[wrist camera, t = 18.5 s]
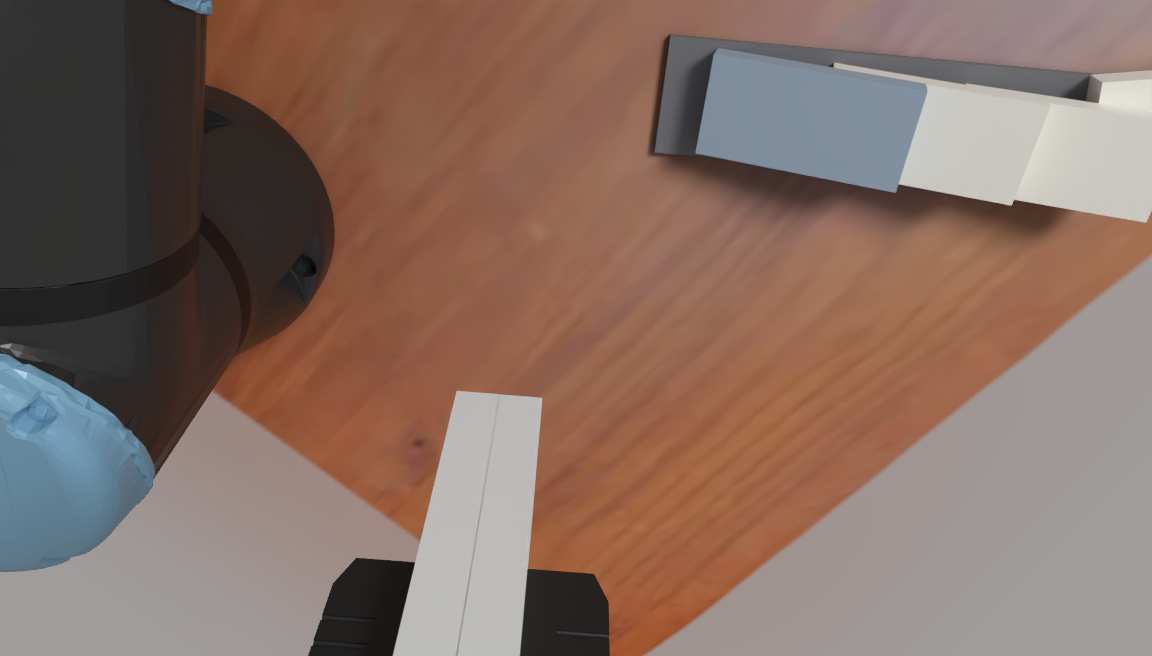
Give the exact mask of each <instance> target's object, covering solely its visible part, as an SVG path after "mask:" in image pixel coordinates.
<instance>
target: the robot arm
mask: <svg viewBox="0 0 1152 656" xmlns="http://www.w3.org/2000/svg"><path fill="white" fill-rule="evenodd" d="M212 12H213V4H212V2H211V0H0V572H10V571H11V572H14V571H28V570H36V569H42V568H46V567H51V566H54V565H58V564H61V563H63V562H66V561H68V560H69V559H70V558H71V557H74V556H78V555H81V554H85V553H87V552H89V551H91V550H92V549H94V548H95V547H97V546H98V545H99V544H100V543H101V542H103V541H104V540H105V539H106V538H107V537H108V536H109V535H110V534H111V533H112V531H113V530H114V529H115V528H116V527H117V526H118V524H119V523H120V522H121V521H122V520H123V519H124V518H125V517H126V516H127V514H128V513H129V512H130V511H131V510H132V509H133V508H134V507H135V505H137V504H138V503H140V501H141V500H142V499H144V498H145V496H146V495H147V494H148V493H149V491H150V489H151V488H152V486H153V479H154V478H155V476H156V474H157V473H158V471H159V470H160V468H161V467H162V465H163V464H164V462H165V461H166V459H167V458H168V456H169V455H170V453H171V452H172V450H173V449H174V447H175V446H176V444H177V443H178V441H179V440H180V438H181V437H182V435H183V434H184V432H185V430H186V429H187V427H188V426H189V424H190V423H191V421H192V420H193V418H194V417H195V415H196V414H197V412H198V411H199V409H200V408H201V406H202V405H203V403H204V402H205V400H206V399H207V397H208V396H209V394H210V393H211V391H212V390H213V388H214V387H215V385H216V383H217V382H218V380H219V379H220V377H221V376H222V374H223V373H224V371H225V370H226V368H227V367H228V365H229V364H230V362H231V361H232V359H233V358H234V356H236V355H238V354H240V353H242V352H244V351H246V350H248V349H250V348H252V347H254V346H255V345H257V344H259V343H261V342H263V341H265V340H267V339H269V338H271V337H273V336H274V335H276V334H278V333H279V332H281V331H282V330H284V329H285V328H286V327H288V326H289V325H290V324H291V323H292V322H294V321H295V320H296V319H297V318H298V317H299V316H300V315H301V314H302V312H303V311H304V310H305V309H306V308H307V306H308V305H309V303H310V302H311V300H312V299H313V297H314V295H315V294H316V292H317V290H318V289H319V287H320V285H321V284H322V282H323V280H324V278H325V276H326V274H327V271H328V268H329V266H330V262H331V258H332V254H333V248H334V221H333V214H332V209H331V205H330V201H329V198H328V195H327V192H326V189H325V187H324V184H323V182H322V180H321V178H320V176H319V174H318V172H317V170H316V168H315V167H314V165H313V163H312V162H311V160H310V159H309V157H308V156H307V154H306V153H305V152H304V150H303V149H302V148H301V147H300V145H299V144H298V143H297V142H296V141H295V140H294V139H293V137H292V136H291V135H290V134H289V133H288V132H287V131H286V130H285V129H284V128H283V127H281V126H280V125H279V124H278V123H277V122H276V121H274V120H273V119H272V118H271V117H269V116H268V115H267V114H265V113H264V112H262V111H261V110H259V109H258V108H257V107H255V106H253V105H252V104H250V103H248V102H246V101H245V100H243V99H241V98H239V97H237V96H235V95H232V94H230V93H228V92H225V91H223V90H220V89H217V88H214V87H211V86H207V85H205V67H206V33H207V16H209V15H212ZM541 407H542V398H537V397H525V396H513V395H501V394H489V393H476V392H464V391H457V392H456V396H455V400H454V405H453V409H452V413H451V417H450V421H449V425H448V429H447V433H446V438H445V442H444V446H443V450H442V454H441V458H440V462H439V467H438V471H437V475H436V479H435V483H434V487H433V491H432V495H431V500H430V504H429V508H428V512H427V516H426V520H425V524H424V529H423V533H422V537H421V541H420V545H419V549H418V554H417V558H416V562H403V561H390V560H377V559H364V558H356V559H355V560H354V561H353V562H352V563H351V564H350V566H349V567H348V568H347V569H346V570H345V571H344V572H343V573H342V574H341V575H340V576H339V578H338V579H337V580H336V581H335V582H334V583H333V585H332V588H331V591H330V594H329V597H328V600H327V603H326V606H325V608H324V612H323V615H322V620H320V623H319V626H318V629H317V632H316V635H315V637H314V643H313V646H311V649H310V652H309V655H308V656H610V652H609V605H608V600H607V598H606V596H605V595H604V593H603V591H602V589H601V587H600V585H599V583H598V581H597V579H596V577H595V575H594V574H587V573H574V572H561V571H548V570H535V569H528V561H529V549H530V538H531V526H532V515H533V503H534V491H535V479H536V467H537V455H538V443H539V431H540V419H541Z"/></svg>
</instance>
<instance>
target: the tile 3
mask: <svg viewBox="0 0 1152 656" xmlns="http://www.w3.org/2000/svg"><path fill="white" fill-rule="evenodd" d="M966 85H970V86H976V87H982V88H988V89H994V90H1000V91H1006V92H1011V93H1017V94H1023V95H1029V96H1035V97H1041V98H1044V99H1045V100H1046V101H1047V102H1048V103H1049V104H1050V105H1051V107H1050V110H1049V112H1048V115H1047V117H1046V120H1045V122H1044V125H1043V127H1042V130H1041V132H1040V135H1039V138H1038V140H1037V143H1036V145H1035V148H1034V150H1033V153H1032V155H1031V158H1030V160H1029V163H1028V165H1027V168H1026V171H1025V173H1024V176H1023V178H1022V181H1021V183H1020V186H1019V188H1018V191H1017V193H1016V196H1015V198H1014V200H1018V201H1024V202H1030V203H1036V204H1042V205H1047V206H1053V207H1059V208H1065V209H1070V210H1076V211H1082V212H1088V213H1094V214H1099V215H1105V216H1111V217H1117V218H1122V219H1128V220H1134V221H1140V222H1147V220H1148V218H1149V215H1150V213H1151V211H1152V111H1146V110H1139V109H1133V108H1126V107H1119V106H1113V105H1106V104H1100V103H1093V102H1086V101H1080V100H1073V99H1067V98H1060V97H1053V96H1047V95H1040V94H1034V93H1027V92H1020V91H1014V90H1007V89H1001V88H994V87H987V86H981V85H974V84H968V83H966Z"/></svg>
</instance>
